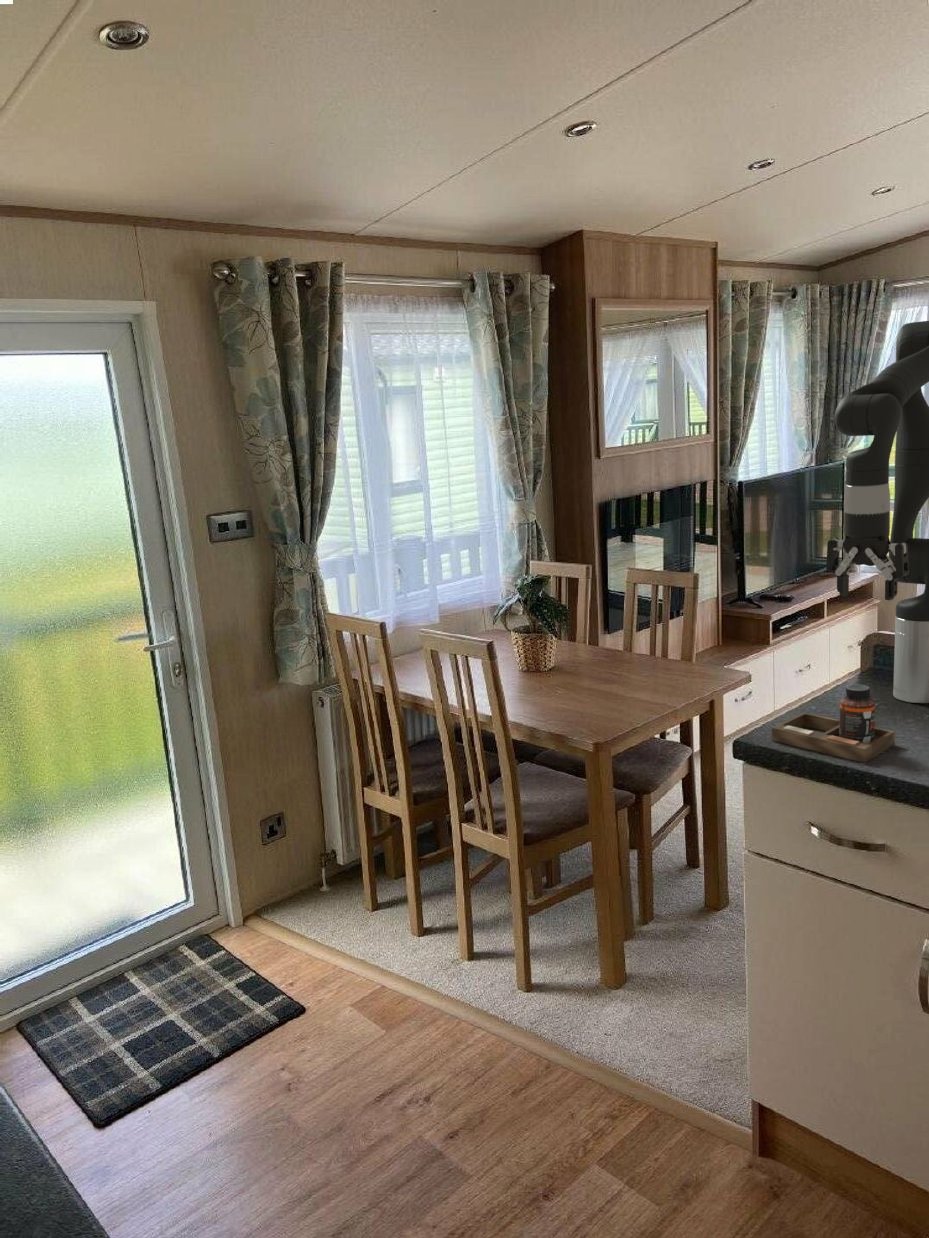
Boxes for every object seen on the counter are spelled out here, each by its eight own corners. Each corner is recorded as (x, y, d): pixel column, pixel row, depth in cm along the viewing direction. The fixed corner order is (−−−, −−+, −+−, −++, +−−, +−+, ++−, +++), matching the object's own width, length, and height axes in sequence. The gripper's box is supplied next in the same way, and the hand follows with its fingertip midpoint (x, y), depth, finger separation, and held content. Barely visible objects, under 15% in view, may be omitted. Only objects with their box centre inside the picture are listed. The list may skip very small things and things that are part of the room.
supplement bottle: (877, 752, 170) (879, 691, 168) (842, 752, 171) (843, 692, 169) (870, 740, 176) (871, 682, 173) (836, 740, 177) (837, 682, 175)
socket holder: (894, 744, 173) (894, 729, 172) (864, 762, 166) (864, 747, 165) (803, 724, 187) (803, 710, 186) (771, 740, 179) (771, 726, 179)
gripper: (916, 507, 166) (915, 596, 170) (839, 504, 177) (839, 589, 181) (897, 513, 161) (895, 606, 165) (818, 510, 172) (819, 597, 176)
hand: (866, 597), depth 173 cm, fingers open, 8 cm apart
